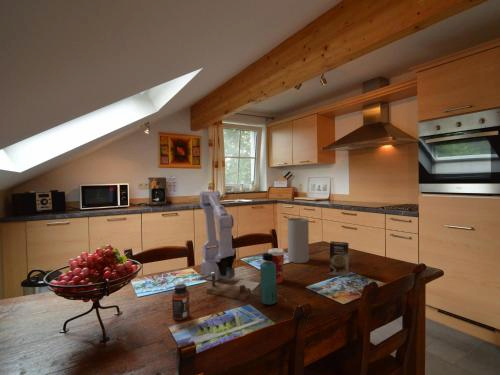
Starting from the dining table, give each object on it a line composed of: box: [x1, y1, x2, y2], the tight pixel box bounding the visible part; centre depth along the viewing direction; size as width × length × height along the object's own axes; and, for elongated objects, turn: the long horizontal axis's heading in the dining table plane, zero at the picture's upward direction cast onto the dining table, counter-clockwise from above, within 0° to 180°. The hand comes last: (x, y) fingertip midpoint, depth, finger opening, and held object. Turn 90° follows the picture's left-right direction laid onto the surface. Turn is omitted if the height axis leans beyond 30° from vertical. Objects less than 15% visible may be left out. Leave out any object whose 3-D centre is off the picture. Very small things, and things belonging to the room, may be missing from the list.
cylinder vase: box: [286, 217, 310, 264], centre depth 157 cm, size 12×12×25 cm
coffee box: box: [329, 241, 350, 278], centre depth 133 cm, size 9×6×16 cm
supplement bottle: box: [171, 283, 191, 321], centre depth 94 cm, size 6×6×11 cm
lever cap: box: [218, 266, 236, 281], centre depth 113 cm, size 6×4×4 cm
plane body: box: [206, 276, 251, 301], centre depth 113 cm, size 18×7×7 cm, turn 65°
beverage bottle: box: [259, 252, 278, 305], centre depth 102 cm, size 6×7×20 cm
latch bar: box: [197, 271, 216, 281], centre depth 113 cm, size 9×2×1 cm, turn 140°
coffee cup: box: [267, 247, 285, 284], centre depth 126 cm, size 8×8×15 cm
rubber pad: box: [233, 279, 261, 292], centre depth 121 cm, size 10×9×1 cm
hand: (225, 273), depth 113 cm, fingers closed on lever cap, 4 cm apart
